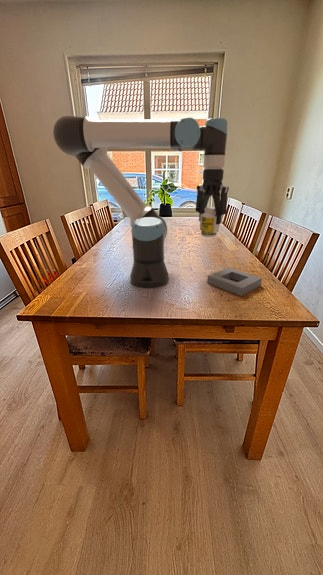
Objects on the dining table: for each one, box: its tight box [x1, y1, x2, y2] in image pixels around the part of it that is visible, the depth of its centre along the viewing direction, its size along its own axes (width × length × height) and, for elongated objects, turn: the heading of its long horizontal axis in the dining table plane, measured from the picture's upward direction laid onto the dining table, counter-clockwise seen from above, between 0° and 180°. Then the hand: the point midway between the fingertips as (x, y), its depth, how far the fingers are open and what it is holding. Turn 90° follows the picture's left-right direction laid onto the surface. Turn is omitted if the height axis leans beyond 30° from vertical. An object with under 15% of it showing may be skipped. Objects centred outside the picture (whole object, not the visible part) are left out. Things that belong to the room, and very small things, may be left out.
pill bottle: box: [200, 206, 217, 238], centre depth 100 cm, size 6×6×11 cm
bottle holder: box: [206, 267, 263, 297], centre depth 94 cm, size 13×15×3 cm
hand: (208, 230), depth 102 cm, fingers closed on pill bottle, 6 cm apart
